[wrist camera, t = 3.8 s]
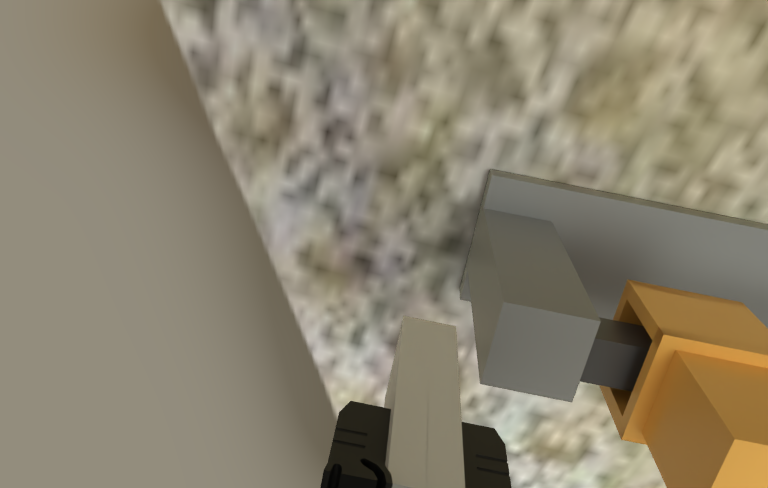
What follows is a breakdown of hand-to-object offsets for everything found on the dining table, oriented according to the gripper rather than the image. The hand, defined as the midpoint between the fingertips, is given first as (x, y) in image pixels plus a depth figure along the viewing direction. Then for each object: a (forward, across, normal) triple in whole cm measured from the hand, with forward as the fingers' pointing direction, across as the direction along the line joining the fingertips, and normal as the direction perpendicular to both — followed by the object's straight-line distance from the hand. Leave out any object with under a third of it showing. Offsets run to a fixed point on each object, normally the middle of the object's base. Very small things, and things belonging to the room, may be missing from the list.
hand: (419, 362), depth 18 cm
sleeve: (+5, +9, 0) cm, 10 cm away
